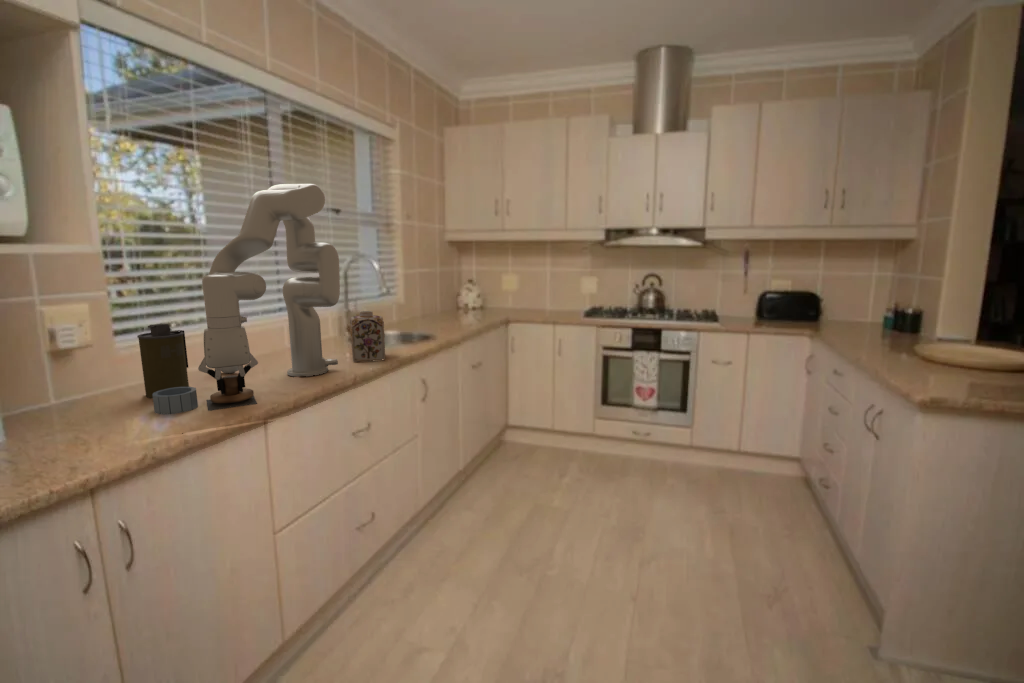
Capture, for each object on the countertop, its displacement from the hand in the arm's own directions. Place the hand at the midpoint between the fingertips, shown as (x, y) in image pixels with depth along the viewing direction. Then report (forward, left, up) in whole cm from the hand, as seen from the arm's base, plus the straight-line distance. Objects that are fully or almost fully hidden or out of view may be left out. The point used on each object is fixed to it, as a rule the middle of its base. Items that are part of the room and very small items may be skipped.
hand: (231, 391), depth 130 cm
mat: (0, 0, -3) cm, 3 cm away
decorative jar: (-48, -38, -4) cm, 61 cm away
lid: (0, 0, -2) cm, 2 cm away
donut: (-2, -39, -4) cm, 39 cm away
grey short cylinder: (+12, -1, -3) cm, 13 cm away
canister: (+14, -19, -4) cm, 24 cm away
